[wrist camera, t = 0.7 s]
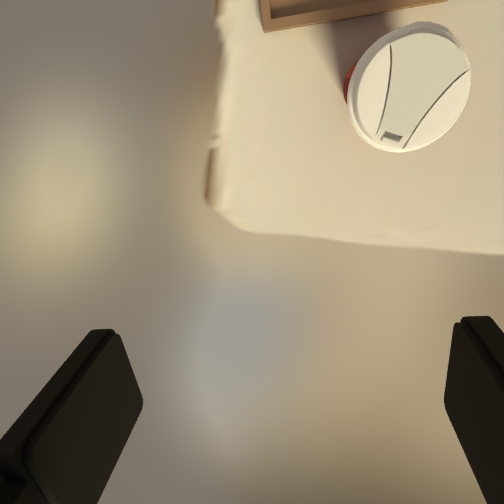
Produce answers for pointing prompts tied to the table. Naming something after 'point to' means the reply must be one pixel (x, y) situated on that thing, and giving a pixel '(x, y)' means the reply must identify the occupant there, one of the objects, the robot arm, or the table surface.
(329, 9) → the tray
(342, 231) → the table surface
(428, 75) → the paper cup
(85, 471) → the robot arm
